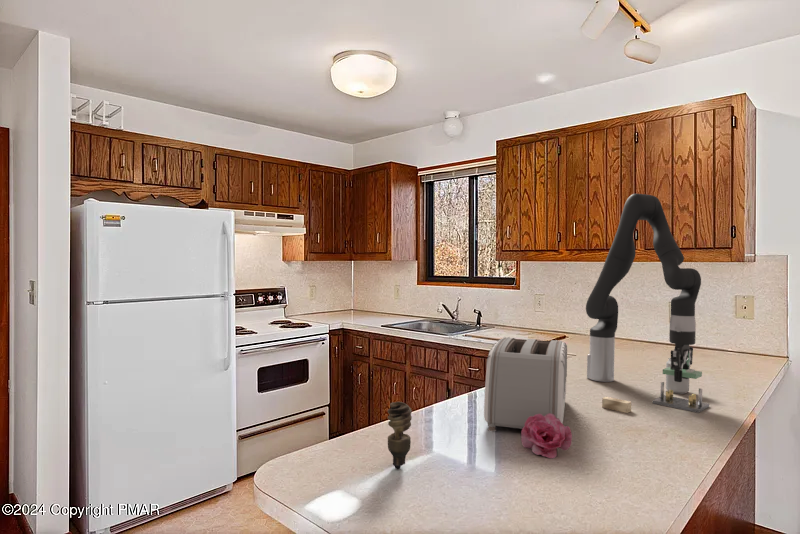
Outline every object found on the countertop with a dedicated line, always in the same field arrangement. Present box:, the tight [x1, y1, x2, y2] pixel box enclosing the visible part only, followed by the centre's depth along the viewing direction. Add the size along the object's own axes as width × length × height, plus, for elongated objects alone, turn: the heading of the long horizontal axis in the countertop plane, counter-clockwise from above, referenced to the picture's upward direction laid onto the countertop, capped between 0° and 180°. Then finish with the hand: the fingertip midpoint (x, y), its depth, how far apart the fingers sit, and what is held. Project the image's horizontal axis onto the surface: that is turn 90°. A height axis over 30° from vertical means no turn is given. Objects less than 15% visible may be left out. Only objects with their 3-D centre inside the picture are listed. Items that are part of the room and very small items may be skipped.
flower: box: [520, 413, 573, 459], centre depth 129 cm, size 11×10×10 cm
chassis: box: [652, 381, 710, 414], centre depth 172 cm, size 14×10×6 cm
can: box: [665, 357, 691, 395], centre depth 189 cm, size 8×8×12 cm
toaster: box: [483, 336, 568, 432], centre depth 161 cm, size 21×45×22 cm, turn 161°
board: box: [662, 367, 703, 380], centre depth 171 cm, size 10×6×2 cm, turn 44°
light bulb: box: [387, 401, 413, 470], centre depth 118 cm, size 6×6×15 cm
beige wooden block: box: [601, 396, 632, 414], centre depth 166 cm, size 8×3×3 cm, turn 44°
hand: (681, 379), depth 171 cm, fingers closed on board, 6 cm apart
